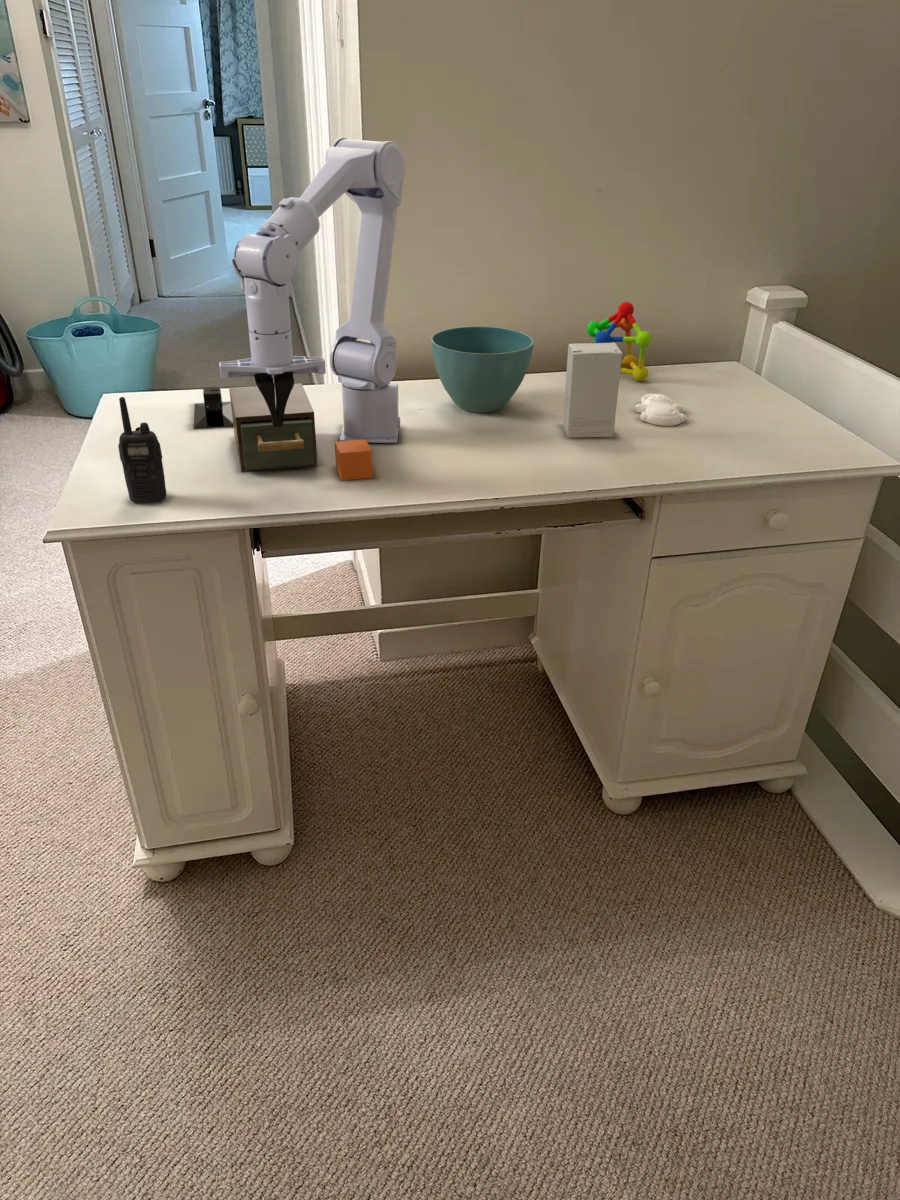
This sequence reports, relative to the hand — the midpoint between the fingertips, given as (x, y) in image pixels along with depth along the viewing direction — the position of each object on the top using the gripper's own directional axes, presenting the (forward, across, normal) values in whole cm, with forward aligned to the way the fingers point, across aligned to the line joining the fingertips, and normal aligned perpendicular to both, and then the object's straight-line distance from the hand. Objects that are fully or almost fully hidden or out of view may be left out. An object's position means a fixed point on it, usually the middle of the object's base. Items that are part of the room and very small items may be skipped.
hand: (277, 424), depth 125 cm
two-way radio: (+9, -19, -3) cm, 21 cm away
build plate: (+8, -8, +29) cm, 32 cm away
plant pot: (+8, +39, +25) cm, 47 cm away
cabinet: (+8, 0, +10) cm, 13 cm away
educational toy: (+8, +72, +37) cm, 81 cm away
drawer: (+7, 0, +6) cm, 9 cm away
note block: (+8, +11, -1) cm, 14 cm away
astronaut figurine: (+8, +70, +13) cm, 72 cm away
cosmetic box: (+8, +53, +8) cm, 54 cm away
